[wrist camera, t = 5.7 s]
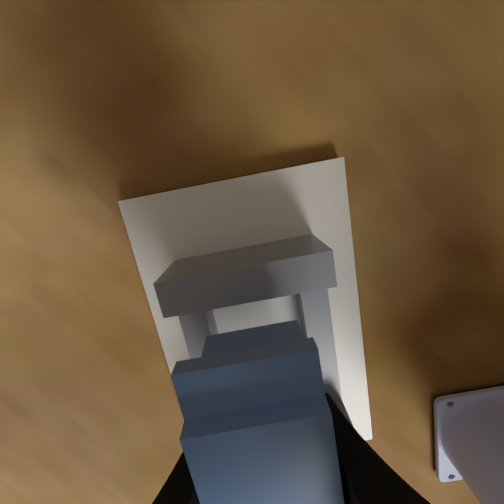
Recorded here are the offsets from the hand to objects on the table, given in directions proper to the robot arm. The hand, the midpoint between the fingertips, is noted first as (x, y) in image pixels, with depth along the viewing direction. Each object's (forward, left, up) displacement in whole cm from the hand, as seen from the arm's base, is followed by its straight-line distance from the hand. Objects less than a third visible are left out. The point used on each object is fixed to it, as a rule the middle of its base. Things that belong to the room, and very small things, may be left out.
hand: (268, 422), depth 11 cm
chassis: (0, 0, -8) cm, 8 cm away
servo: (0, 0, -2) cm, 2 cm away
